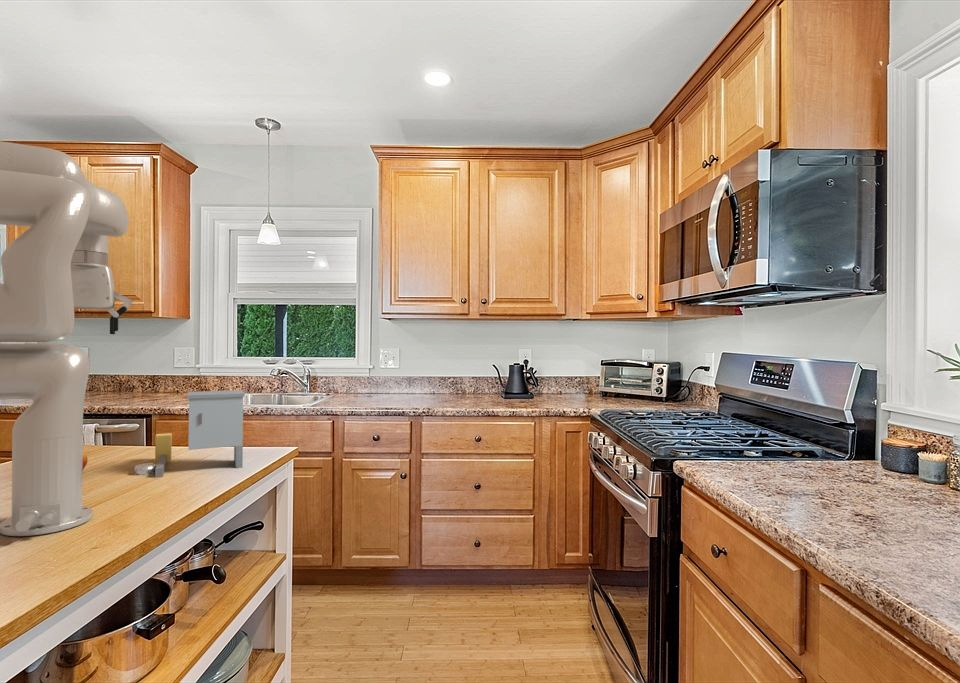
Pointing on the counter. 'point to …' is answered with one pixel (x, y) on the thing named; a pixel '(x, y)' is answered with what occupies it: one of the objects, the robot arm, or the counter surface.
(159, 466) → the blade tool
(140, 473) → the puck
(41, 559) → the counter surface
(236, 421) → the cabinet
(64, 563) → the counter surface
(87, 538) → the counter surface
